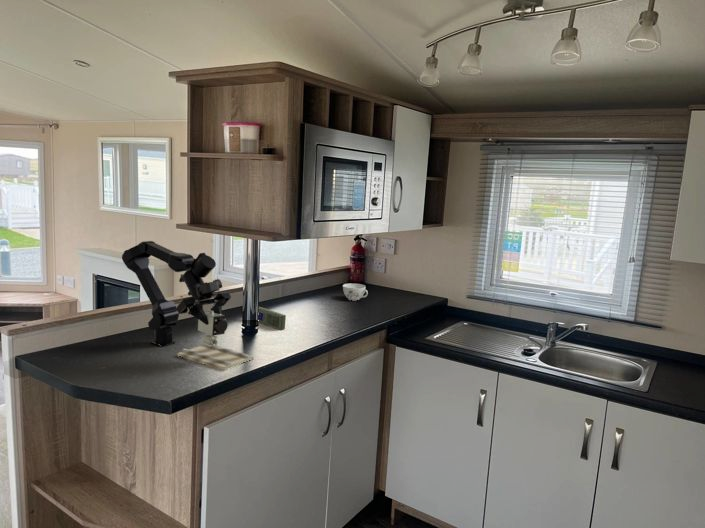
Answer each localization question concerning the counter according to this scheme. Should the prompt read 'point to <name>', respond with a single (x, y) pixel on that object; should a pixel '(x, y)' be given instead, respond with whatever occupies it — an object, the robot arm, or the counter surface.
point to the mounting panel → (215, 356)
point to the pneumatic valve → (212, 327)
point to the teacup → (354, 291)
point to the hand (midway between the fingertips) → (215, 323)
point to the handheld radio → (271, 318)
